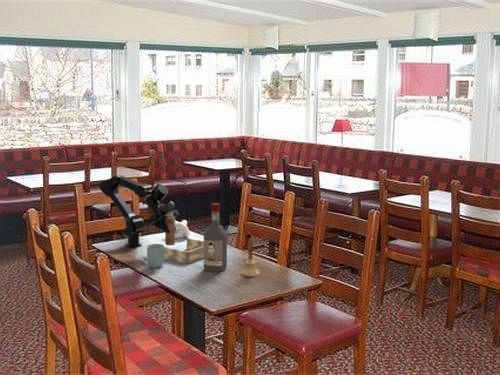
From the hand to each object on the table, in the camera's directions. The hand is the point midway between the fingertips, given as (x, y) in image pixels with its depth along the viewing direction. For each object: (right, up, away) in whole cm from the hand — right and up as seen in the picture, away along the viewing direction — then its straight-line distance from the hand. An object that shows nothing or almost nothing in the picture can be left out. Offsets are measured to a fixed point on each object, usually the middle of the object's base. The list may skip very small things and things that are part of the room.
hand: (172, 231), depth 300 cm
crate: (+8, -12, -3) cm, 15 cm away
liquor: (+22, -15, -21) cm, 34 cm away
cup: (-5, -15, -20) cm, 26 cm away
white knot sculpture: (0, -5, +34) cm, 35 cm away
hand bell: (+38, -17, -27) cm, 49 cm away
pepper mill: (-1, -6, +2) cm, 7 cm away
